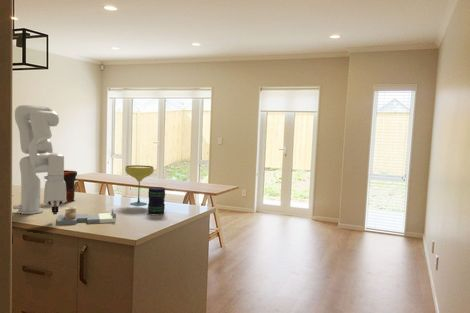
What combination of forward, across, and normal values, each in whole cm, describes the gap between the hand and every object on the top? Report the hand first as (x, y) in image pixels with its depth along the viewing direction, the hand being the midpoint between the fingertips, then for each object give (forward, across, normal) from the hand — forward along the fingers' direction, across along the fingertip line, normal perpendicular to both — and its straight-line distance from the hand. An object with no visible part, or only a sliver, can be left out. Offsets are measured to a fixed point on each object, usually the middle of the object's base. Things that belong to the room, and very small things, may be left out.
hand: (55, 213), depth 194 cm
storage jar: (+4, +54, +12) cm, 56 cm away
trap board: (+4, +15, 0) cm, 16 cm away
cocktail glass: (+4, +48, +41) cm, 64 cm away
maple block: (+2, +7, 0) cm, 8 cm away
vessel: (+4, +3, +60) cm, 60 cm away
